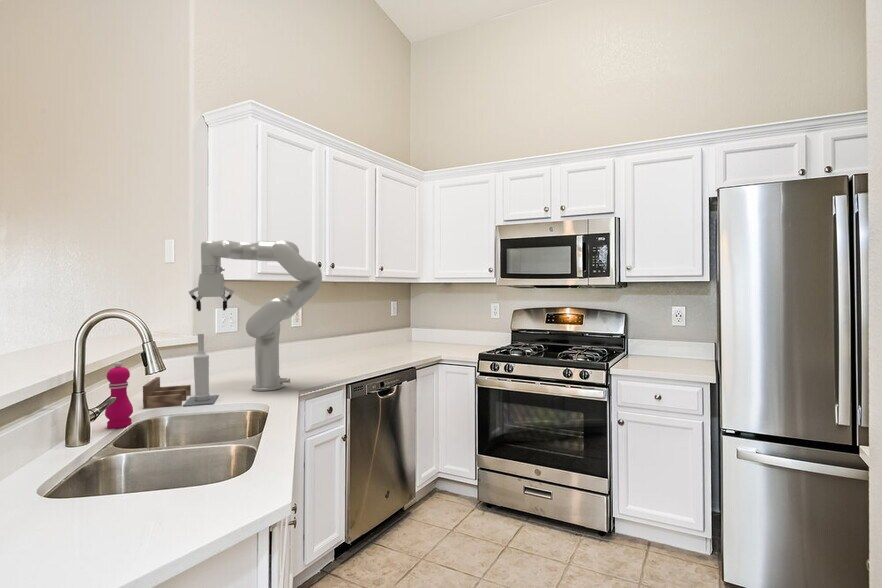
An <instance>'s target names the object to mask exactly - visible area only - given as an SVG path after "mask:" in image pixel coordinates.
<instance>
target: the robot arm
mask: <svg viewBox="0 0 882 588" xmlns="http://www.w3.org/2000/svg"><path fill="white" fill-rule="evenodd" d="M299 249H300V248H299V247H298V246H297V245H296V244H295V243H294V242H291V241H289V240H285V239H284V240H283V239H282V240H277V241H274V240H272V241H270V240H260V241H259V240H258V242H237V241H232V240H228V239H227V240H226V239H224V240H222V239H221V240H217V241H213V240H205V241H202V242H201V243H200V269H201V273H199V277H198V284H197V287H195V288H193V289H191V290H189V291H188V294H189V295H190V297H191V298H192V300H194V301H195V304H196V305H195V308H196V310H197V312H201V311H202V302H201V300H202V298H216V297H217V298H221V299H222V300H223V301H222V310H223V311H226V310H227V309H228V301H229V300H230V299H231V298H232V297H233V294H234V293H235V291H234V289H233V290H232V289H231V288H228V287H226V286H225V285H226V283H225V278H224V277H225V276H224V274H223V273H222V272H225V267H222V262H221V261H222V260H221V258H222V259H223V258H224V259H231V260H242V261H243V260H244V261H245V260H246V261H247V260H248V261H258V262H277V263H278V264H279V265H280V266H281V267H282V268H283V269H284V270H286V272H287V273H288V274H289V275H290V276H291V277H292V278H293V279H295V280H297V281H299V282H298V283H297V284H295V285H294V286H292V288H291V289H289V290H288V291H287V292H286V293H285V294H284V295H282V296H278V297H274V298H271V299H269V300H268V301H267V302H265V303H264V304H263V305H262V306H261V307H260V308H259V309H257V311H255V312H254V313H253V314H252V315H251V316H250V317H249V318H248V319H247V321H246V324H245V330H246V331H245V332H246V333H247V335H248V336H250V337H251V338H253V339H255V344H254V357H255V359H254V361H255V362H254V364H255V372H254V373H255V374H254V375H255V384H253V385H252V386H251V390H253V391H256V392H269V391H275V390H279V389H282V388H284V384H285V383H286V384H287V383H288V384H290V383H291V377H284V378H283V377H281V375H280V335H281V334H280V333H281V322H282V321H284V320H288V319H290V318H292V317H293V316H294V315H295V314H296V313H297V312H298V311H300V310H301V309H302V308H303V306H305V305H306V304H307V302H309V301H310V300H311V299H312V298H313V297H314V296H315V295H316V294H317V293H318V291H319V290H320V287H321V286H322V283H323V274H322V271H321V268H320V266H319V265H318V264H317V263H315V262H313V261H310V260H306V259H305V258H303V256H302V255H300V250H299ZM226 292H228V294H227V296H226ZM194 293H197V295H198V296H196V295H195V294H194Z"/></svg>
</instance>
